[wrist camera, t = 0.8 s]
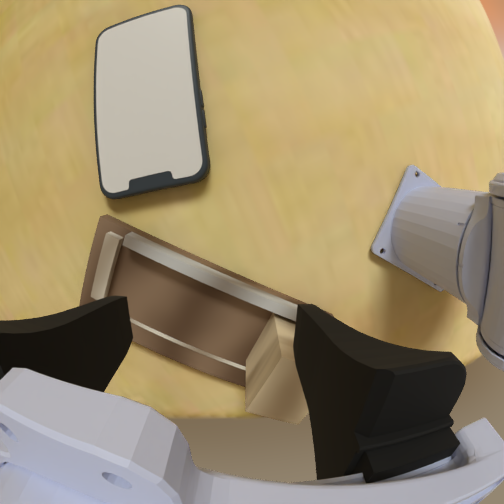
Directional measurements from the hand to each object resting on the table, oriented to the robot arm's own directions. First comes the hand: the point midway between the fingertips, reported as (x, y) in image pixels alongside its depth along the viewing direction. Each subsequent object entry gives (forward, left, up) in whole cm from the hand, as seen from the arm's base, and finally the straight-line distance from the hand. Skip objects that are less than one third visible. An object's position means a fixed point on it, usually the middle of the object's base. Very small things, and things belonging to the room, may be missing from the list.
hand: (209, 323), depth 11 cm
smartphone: (+11, -9, -11) cm, 18 cm away
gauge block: (-7, +5, -9) cm, 12 cm away
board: (0, +5, -10) cm, 12 cm away
